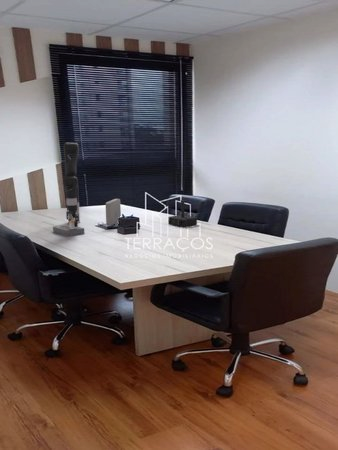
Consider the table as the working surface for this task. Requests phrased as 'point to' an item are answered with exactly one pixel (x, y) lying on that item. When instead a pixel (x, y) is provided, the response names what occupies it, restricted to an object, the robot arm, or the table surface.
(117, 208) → the network device
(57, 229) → the switch panel
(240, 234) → the table surface
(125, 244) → the table surface
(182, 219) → the dark pedestal with post
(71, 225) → the lever
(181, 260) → the table surface
